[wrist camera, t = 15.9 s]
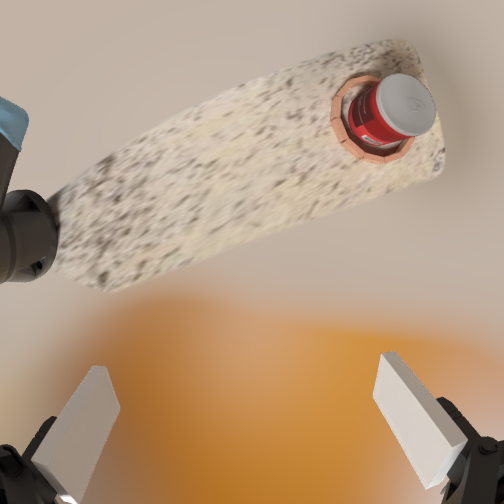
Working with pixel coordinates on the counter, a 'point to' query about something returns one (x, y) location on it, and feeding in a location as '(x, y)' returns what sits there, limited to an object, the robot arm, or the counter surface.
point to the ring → (341, 130)
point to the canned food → (392, 110)
